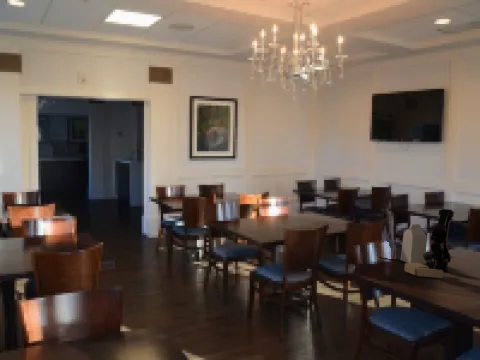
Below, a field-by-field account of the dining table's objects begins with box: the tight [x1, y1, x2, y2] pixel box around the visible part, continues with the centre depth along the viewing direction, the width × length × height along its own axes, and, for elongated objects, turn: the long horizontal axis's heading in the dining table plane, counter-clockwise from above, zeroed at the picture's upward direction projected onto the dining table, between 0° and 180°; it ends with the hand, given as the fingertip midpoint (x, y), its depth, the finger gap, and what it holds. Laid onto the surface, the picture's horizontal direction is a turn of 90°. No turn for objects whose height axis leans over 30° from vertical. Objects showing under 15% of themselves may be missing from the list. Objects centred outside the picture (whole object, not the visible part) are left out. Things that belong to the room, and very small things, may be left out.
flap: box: [415, 268, 443, 279], centre depth 278 cm, size 14×1×5 cm, turn 78°
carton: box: [404, 262, 430, 276], centre depth 286 cm, size 10×10×5 cm
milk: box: [400, 223, 427, 265], centre depth 313 cm, size 12×12×26 cm
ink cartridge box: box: [380, 237, 397, 260], centre depth 321 cm, size 10×6×14 cm, turn 55°
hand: (436, 274), depth 279 cm, fingers closed
